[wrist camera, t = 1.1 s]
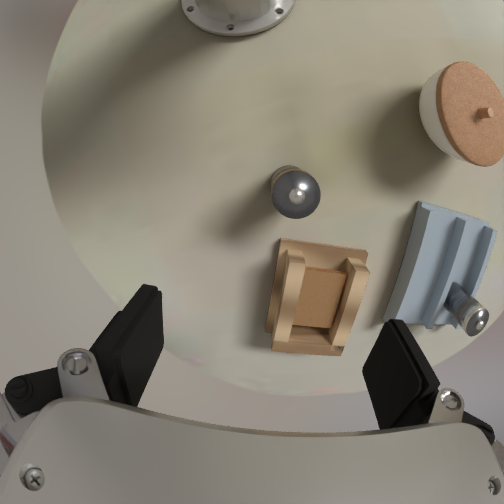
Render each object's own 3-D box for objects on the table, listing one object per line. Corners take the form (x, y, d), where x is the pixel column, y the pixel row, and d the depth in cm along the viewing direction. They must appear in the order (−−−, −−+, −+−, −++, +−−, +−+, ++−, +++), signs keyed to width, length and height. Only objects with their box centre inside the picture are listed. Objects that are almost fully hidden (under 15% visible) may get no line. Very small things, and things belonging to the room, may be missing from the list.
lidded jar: (470, 164, 25) (520, 176, 16) (405, 154, 26) (453, 160, 17) (467, 86, 21) (514, 78, 12) (399, 65, 22) (442, 43, 13)
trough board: (418, 200, 27) (431, 206, 25) (485, 221, 27) (498, 227, 24) (382, 318, 33) (390, 331, 30) (449, 320, 33) (458, 331, 30)
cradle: (280, 238, 30) (282, 253, 26) (365, 250, 30) (378, 266, 26) (265, 327, 34) (264, 350, 30) (339, 334, 34) (346, 356, 30)
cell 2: (445, 280, 30) (478, 311, 22) (463, 282, 30) (495, 312, 22) (435, 305, 31) (464, 339, 23) (453, 306, 31) (482, 338, 23)
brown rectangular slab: (303, 266, 29) (304, 269, 28) (344, 271, 29) (346, 274, 28) (291, 320, 31) (292, 324, 30) (329, 324, 31) (330, 328, 30)
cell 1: (273, 162, 27) (275, 167, 20) (310, 168, 27) (325, 175, 20) (268, 198, 29) (268, 217, 21) (304, 204, 29) (317, 224, 21)
